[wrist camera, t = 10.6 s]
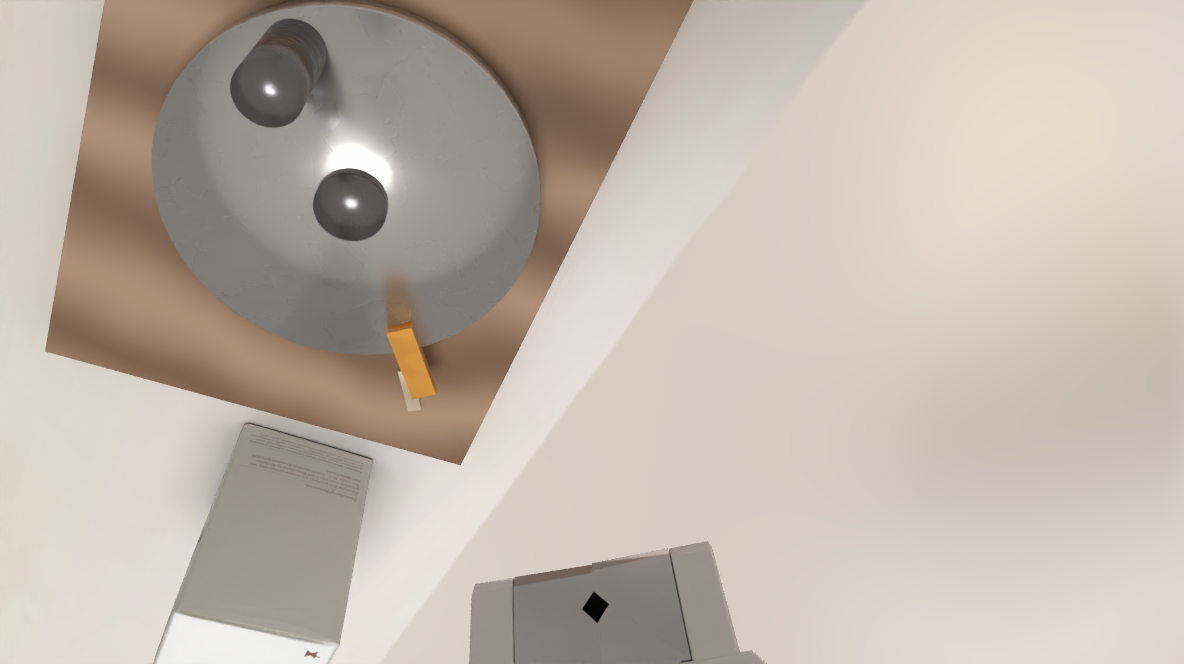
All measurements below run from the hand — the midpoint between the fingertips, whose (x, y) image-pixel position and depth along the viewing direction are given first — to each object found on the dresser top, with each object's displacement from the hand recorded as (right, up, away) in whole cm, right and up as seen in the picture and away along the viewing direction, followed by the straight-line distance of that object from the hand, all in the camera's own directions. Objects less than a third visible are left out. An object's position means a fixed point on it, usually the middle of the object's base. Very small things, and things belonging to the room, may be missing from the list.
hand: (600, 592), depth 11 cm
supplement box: (-17, -5, +39) cm, 43 cm away
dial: (-10, +9, +28) cm, 31 cm away
